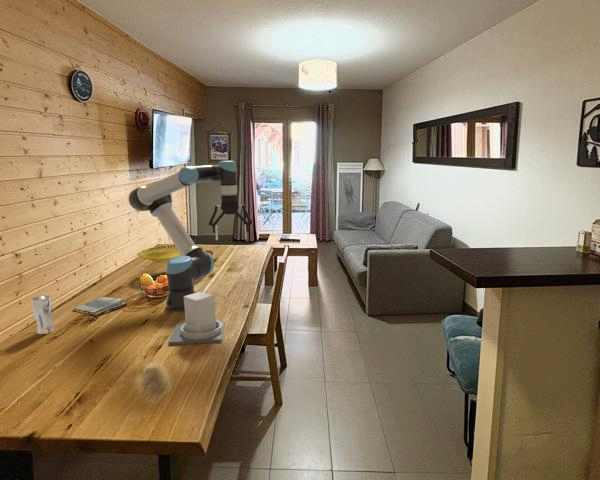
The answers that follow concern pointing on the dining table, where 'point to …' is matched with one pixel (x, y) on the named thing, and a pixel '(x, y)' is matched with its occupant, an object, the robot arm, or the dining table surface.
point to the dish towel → (100, 305)
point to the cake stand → (162, 254)
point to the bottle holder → (196, 335)
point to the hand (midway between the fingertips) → (231, 239)
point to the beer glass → (42, 313)
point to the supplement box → (200, 312)
